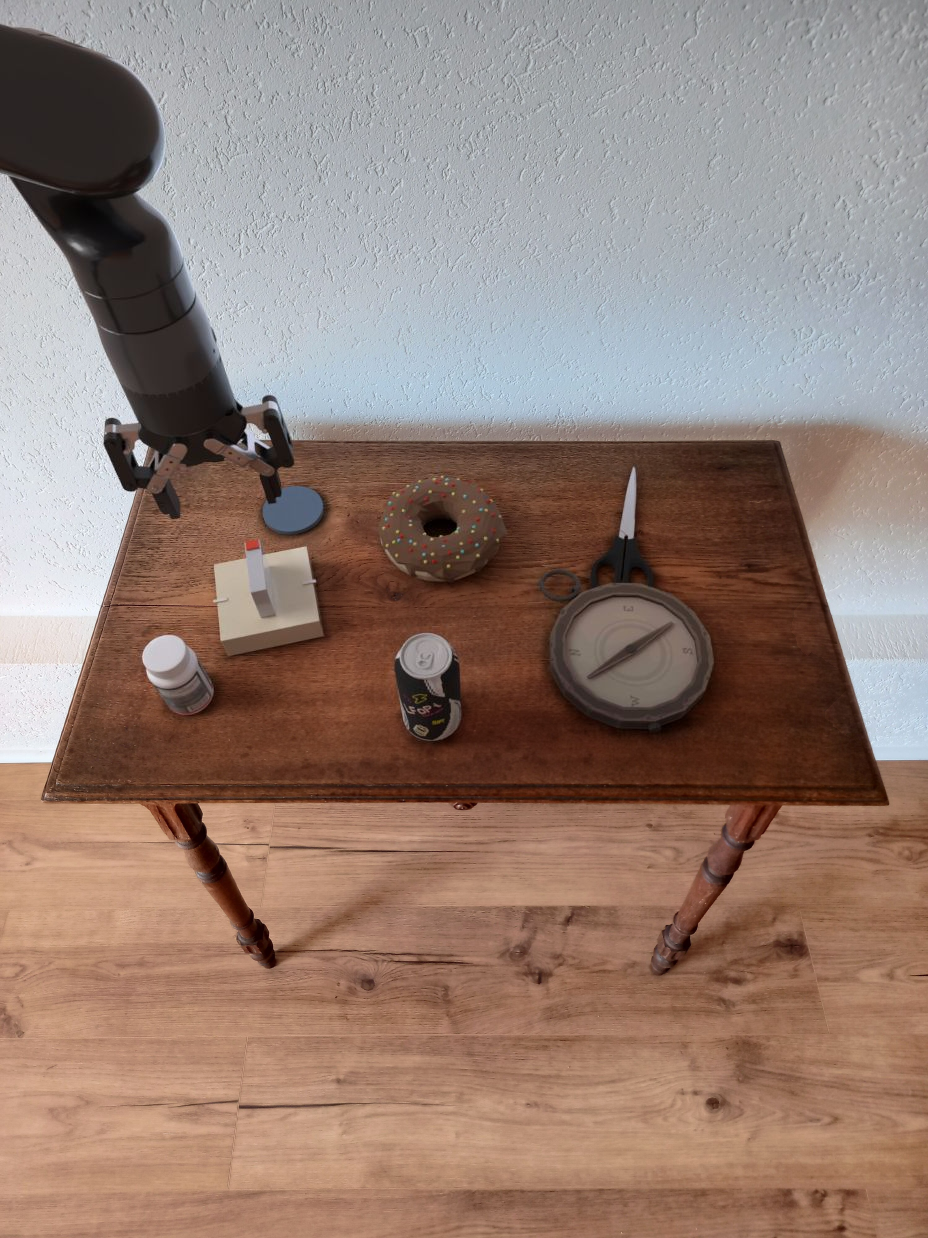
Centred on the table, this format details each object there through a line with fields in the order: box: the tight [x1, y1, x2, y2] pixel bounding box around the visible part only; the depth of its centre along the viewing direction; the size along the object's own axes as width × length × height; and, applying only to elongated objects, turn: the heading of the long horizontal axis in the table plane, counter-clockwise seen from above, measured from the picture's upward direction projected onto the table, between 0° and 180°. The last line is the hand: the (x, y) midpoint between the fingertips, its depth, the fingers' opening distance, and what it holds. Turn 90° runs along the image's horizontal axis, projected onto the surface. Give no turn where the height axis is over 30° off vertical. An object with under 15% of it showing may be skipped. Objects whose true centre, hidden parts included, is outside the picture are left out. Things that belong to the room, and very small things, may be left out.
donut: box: [377, 475, 509, 584], centre depth 89 cm, size 14×14×5 cm
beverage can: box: [393, 632, 463, 742], centre depth 74 cm, size 6×6×12 cm
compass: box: [538, 568, 715, 734], centre depth 82 cm, size 20×16×2 cm
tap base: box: [212, 545, 325, 657], centre depth 85 cm, size 11×10×3 cm
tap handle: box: [244, 539, 276, 618], centre depth 82 cm, size 6×2×5 cm, turn 14°
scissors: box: [589, 466, 654, 589], centre depth 91 cm, size 7×1×20 cm
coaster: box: [262, 485, 325, 536], centre depth 94 cm, size 7×7×1 cm
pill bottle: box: [141, 634, 215, 716], centre depth 78 cm, size 5×5×8 cm
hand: (224, 504), depth 73 cm, fingers open, 8 cm apart
